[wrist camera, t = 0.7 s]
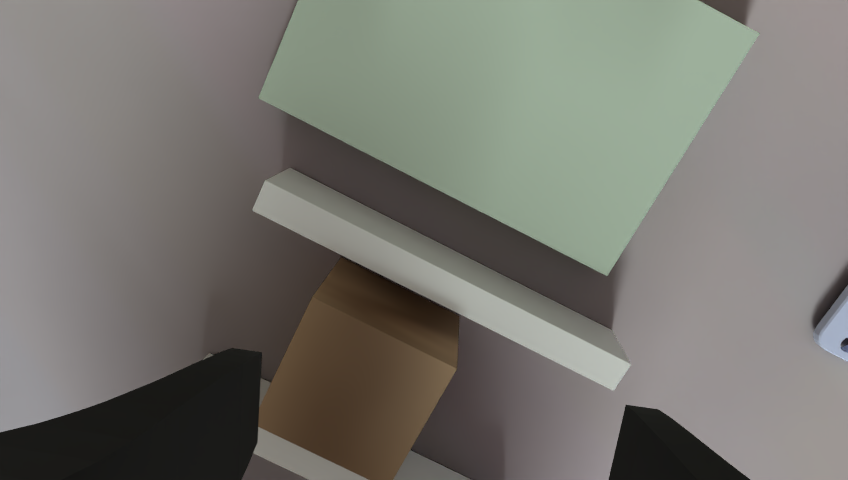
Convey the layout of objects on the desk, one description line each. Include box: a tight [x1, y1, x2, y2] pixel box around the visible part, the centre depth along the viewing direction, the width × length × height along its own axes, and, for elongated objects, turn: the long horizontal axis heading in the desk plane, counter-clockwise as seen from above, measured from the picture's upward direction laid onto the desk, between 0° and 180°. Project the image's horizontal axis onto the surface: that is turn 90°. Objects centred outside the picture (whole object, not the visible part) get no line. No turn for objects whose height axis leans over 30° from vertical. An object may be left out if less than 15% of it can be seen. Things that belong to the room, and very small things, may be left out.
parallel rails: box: [203, 168, 631, 480], centre depth 20 cm, size 12×8×2 cm
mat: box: [258, 0, 760, 276], centre depth 18 cm, size 12×8×1 cm, turn 64°
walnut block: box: [258, 257, 459, 480], centre depth 19 cm, size 4×4×4 cm
